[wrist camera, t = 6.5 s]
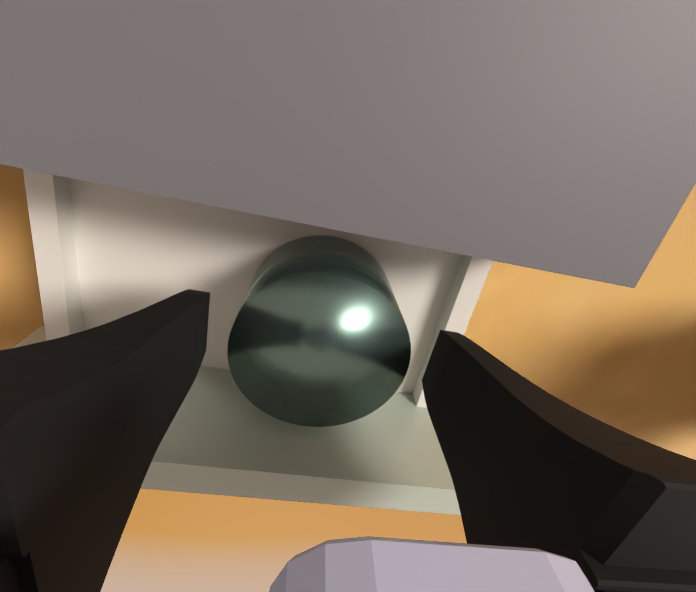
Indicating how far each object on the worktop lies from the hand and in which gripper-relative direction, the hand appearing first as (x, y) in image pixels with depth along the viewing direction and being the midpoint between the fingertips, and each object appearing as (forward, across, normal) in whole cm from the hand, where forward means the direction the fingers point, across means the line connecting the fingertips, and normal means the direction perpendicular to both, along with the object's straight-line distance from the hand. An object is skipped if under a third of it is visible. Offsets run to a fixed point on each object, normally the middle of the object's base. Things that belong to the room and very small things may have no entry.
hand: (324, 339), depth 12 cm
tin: (+3, 0, 0) cm, 3 cm away
